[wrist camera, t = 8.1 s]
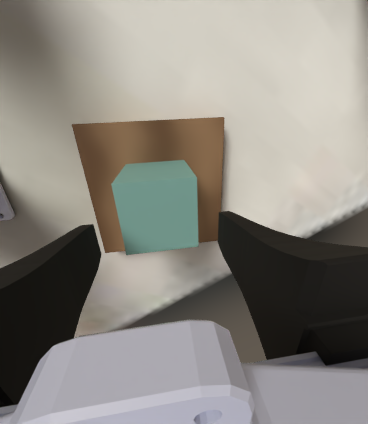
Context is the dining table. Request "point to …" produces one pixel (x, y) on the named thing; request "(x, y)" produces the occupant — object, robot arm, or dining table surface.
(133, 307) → the dining table surface
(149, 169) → the teal block
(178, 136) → the walnut base
